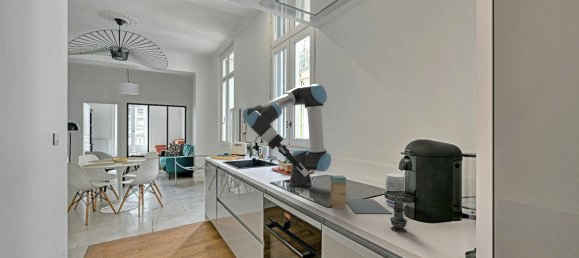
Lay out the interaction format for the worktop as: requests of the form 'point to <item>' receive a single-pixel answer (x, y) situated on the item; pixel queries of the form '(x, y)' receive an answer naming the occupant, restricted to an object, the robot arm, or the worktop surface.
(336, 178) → the tall block
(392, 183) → the supplement tub
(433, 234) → the worktop surface
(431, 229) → the worktop surface
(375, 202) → the mat
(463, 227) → the worktop surface
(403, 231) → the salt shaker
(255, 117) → the robot arm
